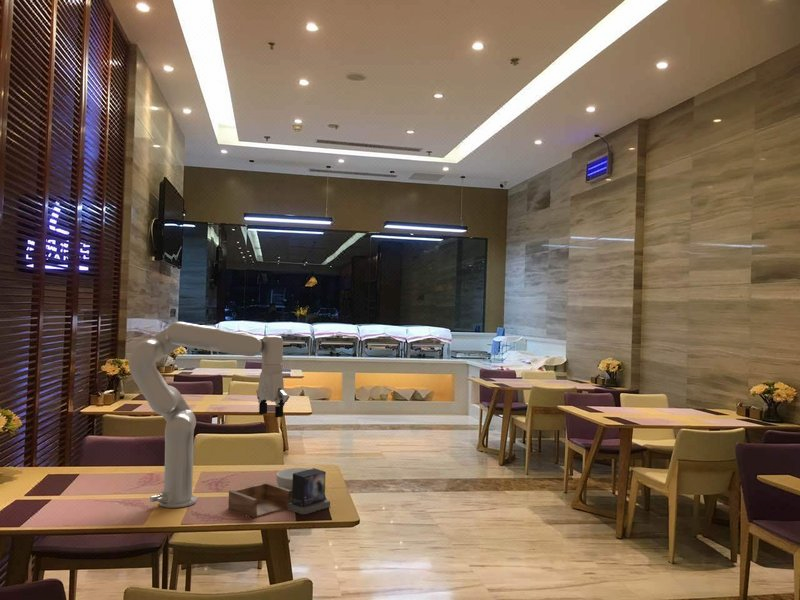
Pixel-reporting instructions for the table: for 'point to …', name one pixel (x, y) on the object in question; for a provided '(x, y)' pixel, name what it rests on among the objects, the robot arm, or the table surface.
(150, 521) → the table surface
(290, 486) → the cereal bowl
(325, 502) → the slate stand
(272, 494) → the box
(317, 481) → the small box
